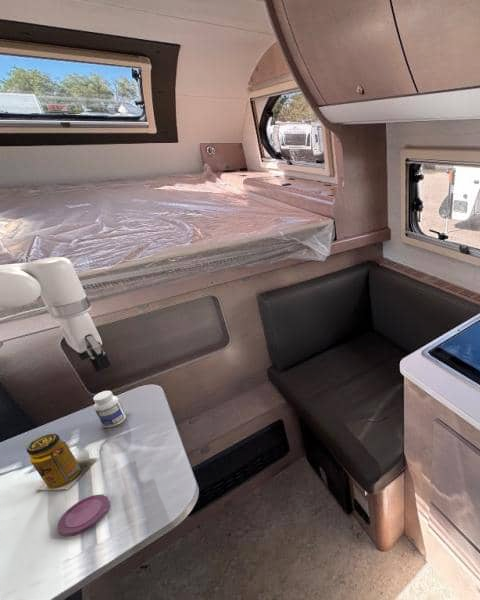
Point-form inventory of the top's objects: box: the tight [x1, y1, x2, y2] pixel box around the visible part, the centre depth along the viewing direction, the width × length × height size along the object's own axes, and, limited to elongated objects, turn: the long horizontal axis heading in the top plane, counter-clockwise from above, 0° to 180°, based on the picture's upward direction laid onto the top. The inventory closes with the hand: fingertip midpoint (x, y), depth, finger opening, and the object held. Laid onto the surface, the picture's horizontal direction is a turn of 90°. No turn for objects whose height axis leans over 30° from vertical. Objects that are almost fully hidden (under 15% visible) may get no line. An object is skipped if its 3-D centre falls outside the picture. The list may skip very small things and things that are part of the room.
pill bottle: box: [92, 390, 127, 428], centre depth 93 cm, size 5×5×10 cm
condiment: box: [26, 433, 98, 491], centre depth 77 cm, size 7×8×12 cm
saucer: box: [56, 494, 111, 537], centre depth 70 cm, size 8×8×1 cm
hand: (95, 362), depth 88 cm, fingers open, 9 cm apart
